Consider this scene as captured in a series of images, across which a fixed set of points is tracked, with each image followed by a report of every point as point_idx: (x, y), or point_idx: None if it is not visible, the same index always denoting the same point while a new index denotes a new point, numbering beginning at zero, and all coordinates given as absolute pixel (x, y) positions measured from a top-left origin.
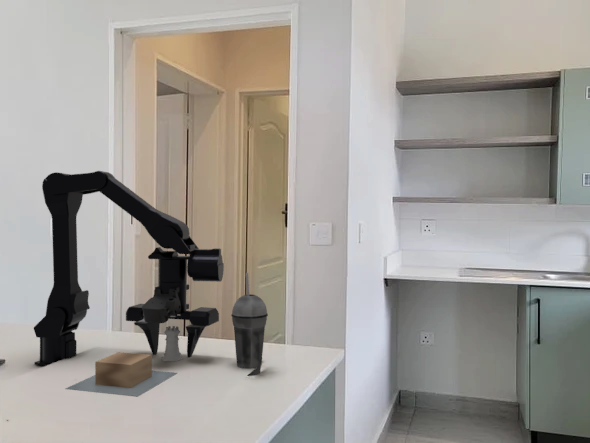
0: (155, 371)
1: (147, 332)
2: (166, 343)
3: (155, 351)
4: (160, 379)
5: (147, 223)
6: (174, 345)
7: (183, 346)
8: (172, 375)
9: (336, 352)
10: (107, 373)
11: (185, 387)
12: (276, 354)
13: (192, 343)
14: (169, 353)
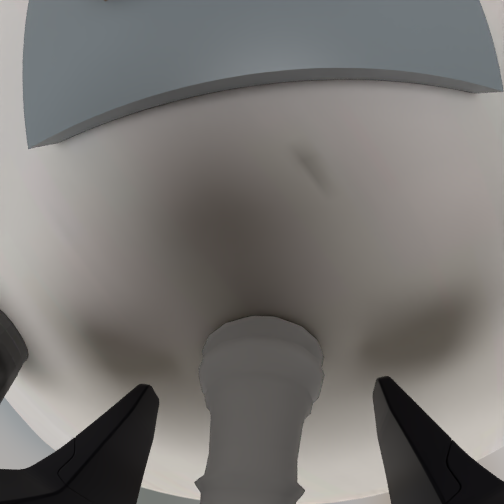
0: (144, 81)
1: (466, 488)
2: (283, 457)
3: (378, 398)
4: (45, 12)
5: None
6: (214, 447)
7: (352, 476)
8: (26, 94)
9: (49, 444)
10: None
11: (6, 100)
12: None
13: (77, 436)
14: (244, 390)
